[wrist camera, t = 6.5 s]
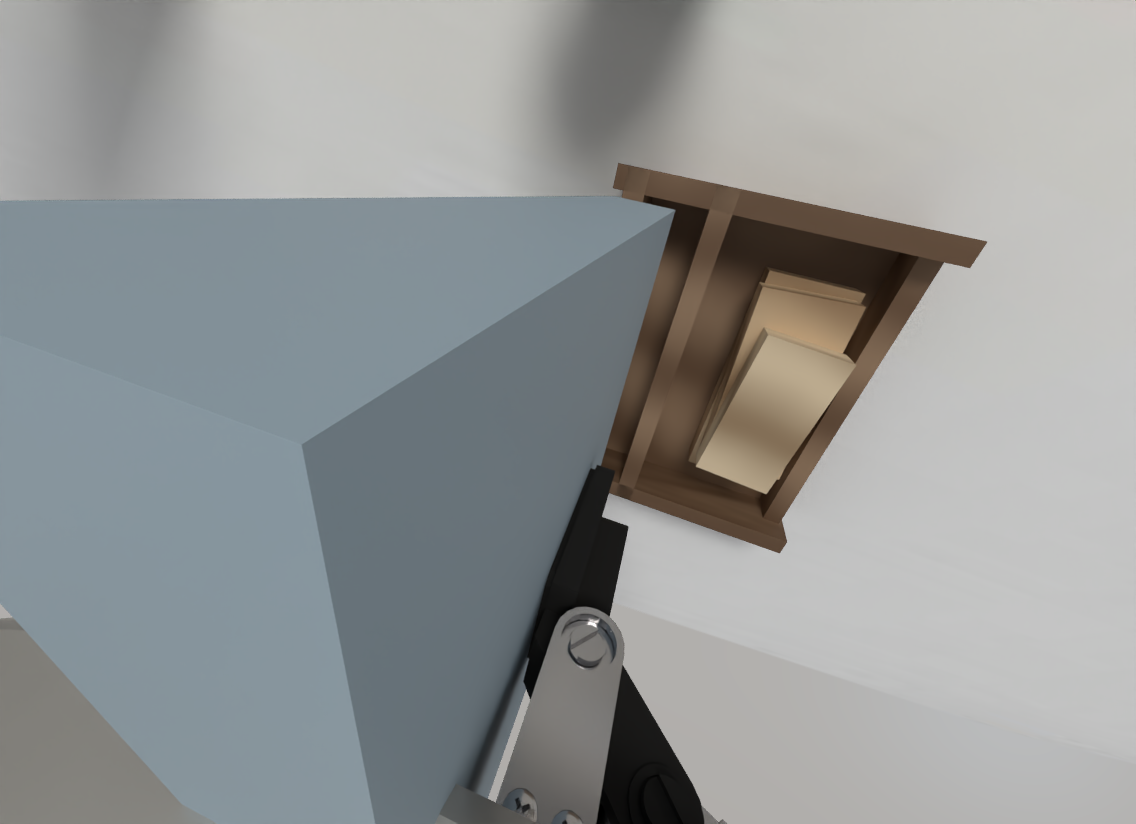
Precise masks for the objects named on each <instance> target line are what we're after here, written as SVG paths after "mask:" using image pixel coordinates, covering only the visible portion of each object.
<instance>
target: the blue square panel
mask: <svg viewBox="0 0 1136 824" xmlns="http://www.w3.org/2000/svg"><path fill="white" fill-rule="evenodd" d="M674 213H675V210H674V209H669V208H665V207H660V206H656V205H652V204H647V203H643V202H638V201H634V200H629V199H625V198H621V197H616V196H555V197H427V198H300V199H172V200H45V201H0V603H1V605H2V606H3V607H4V608H5V609H6V610H7V611H8V612H9V613H10V615H11V616H12V617H13V618H14V619H15V620H16V621H17V622H18V623H19V625H20V626H21V627H22V628H23V629H24V630H25V631H26V632H27V633H28V635H29V636H30V637H31V638H32V639H33V640H34V641H35V642H36V643H37V644H38V646H39V647H40V648H41V649H42V650H43V651H44V652H45V653H46V654H47V656H48V657H49V658H50V659H51V660H52V661H53V662H54V663H55V664H56V666H57V667H58V668H59V669H60V670H61V671H62V672H63V673H64V674H65V675H66V677H67V678H68V679H69V680H70V681H71V682H72V683H73V684H74V685H75V687H76V688H77V689H78V690H79V691H80V692H81V693H82V694H83V695H84V697H85V698H86V699H87V700H88V701H89V702H90V703H91V704H92V705H93V707H94V708H95V709H96V710H97V711H98V712H99V713H100V714H101V715H102V716H103V718H104V719H105V720H106V721H107V722H108V723H109V724H110V725H111V726H112V728H113V729H114V730H115V731H116V732H117V733H118V734H119V735H120V736H121V738H122V739H123V740H124V741H125V742H126V743H127V744H128V745H129V746H130V747H131V749H132V750H133V751H134V752H135V753H136V754H137V755H138V756H139V757H140V759H141V760H142V761H143V762H144V763H145V764H146V765H147V766H148V767H149V769H150V770H151V771H152V772H153V773H154V774H155V775H156V776H157V777H158V778H159V780H160V781H161V782H162V783H163V784H164V785H165V786H166V787H167V788H168V790H169V791H170V792H171V793H172V794H173V795H174V796H175V797H176V798H177V800H178V801H179V802H180V803H181V804H182V805H184V806H186V807H188V808H190V809H191V810H193V811H195V812H197V813H199V814H201V815H202V816H204V817H206V818H208V819H210V820H212V821H213V822H215V823H217V824H435V823H436V820H437V818H438V816H439V813H440V812H441V810H442V808H443V806H444V804H445V803H446V801H447V799H448V797H449V796H450V794H451V792H452V790H453V789H454V787H455V785H456V784H458V785H460V786H462V787H464V788H466V789H468V790H471V791H473V792H475V793H477V794H479V795H481V796H483V797H485V798H487V799H488V796H489V793H490V790H491V788H492V785H493V782H494V779H495V776H496V773H497V770H498V768H499V765H500V762H501V759H502V756H503V753H504V750H505V747H506V745H507V742H508V739H509V736H510V733H511V730H512V728H513V725H514V722H515V719H516V716H517V713H518V710H519V707H520V705H521V702H522V699H523V696H524V693H525V690H526V687H525V684H524V682H523V680H524V676H525V673H526V669H527V665H528V661H529V658H527V655H528V651H529V647H530V643H531V639H532V635H533V631H534V627H535V623H536V619H537V615H538V611H539V607H540V603H541V599H542V595H543V591H544V587H545V584H546V581H547V578H548V575H549V572H550V569H551V566H552V564H553V561H554V559H555V556H556V554H557V551H558V549H559V546H560V544H561V541H562V539H563V536H564V534H565V531H566V529H567V526H568V524H569V521H570V519H571V516H572V514H573V511H574V508H575V506H576V503H577V501H578V498H579V496H580V493H581V491H582V488H583V486H584V483H585V481H586V478H587V476H588V473H589V471H590V468H592V469H595V468H596V466H597V465H600V466H601V463H602V460H603V456H604V453H605V450H606V446H607V443H608V439H609V436H610V432H611V429H612V426H613V422H614V419H615V415H616V412H617V409H618V405H619V402H620V398H621V395H622V391H623V388H624V385H625V381H626V378H627V374H628V371H629V367H630V364H631V361H632V357H633V354H634V350H635V347H636V343H637V340H638V337H639V333H640V330H641V326H642V323H643V319H644V316H645V313H646V309H647V306H648V302H649V299H650V296H651V292H652V289H653V285H654V282H655V278H656V275H657V272H658V268H659V265H660V261H661V258H662V254H663V251H664V248H665V244H666V241H667V237H668V234H669V230H670V227H671V224H672V220H673V217H674Z"/></svg>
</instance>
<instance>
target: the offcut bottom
mask: <svg viewBox="0 0 1136 824" xmlns="http://www.w3.org/2000/svg"><path fill="white" fill-rule="evenodd" d="M760 282H762V283H767V284H772V285H777V286H783V287H788V288H793V289H798V290H803V291H809V292H814V293H819V294H824V295H829V296H835V297H840V298H845V299H850V300H855V301H857V302H859V303H860V304H861V302H862V300H863V298H864V296H865V295H866V294H865V293H863V292H861V291H859V290H858V289H855V288H851V287H847V286H843V285H839V284H835V283H831V282H826V281H822V280H818V279H814V278H810V277H806V276H802V275H798V274H793V273H789V272H785V271H781V270H777V269H773V268H769V267H766V268H765V270H764V273H763V275H762V277H761V280H760ZM756 290H757V289H756ZM754 295H755V294H754ZM753 298H754V296H753ZM752 300H753V299H752ZM751 303H752V301H751ZM751 303H750V306H751ZM750 306H749V308H748V311H749V309H750ZM748 311H747V313H746V315H745V318H744V320H743V322H742V325H741V327H740V330H739V332H738V334H737V337H736V339H735V341H734V344H733V346H732V349H731V351H730V353H729V356H728V358H727V360H726V363H725V365H724V367H723V370H722V372H721V375H720V377H719V379H718V382H717V384H716V386H715V389H714V391H713V394H712V396H711V398H710V401H709V403H708V405H707V408H706V410H705V413H704V415H703V417H702V420H701V422H700V424H699V427H698V429H697V431H696V434H695V436H694V439H693V441H692V443H691V446H690V448H689V458H688V461H690V462H693V463H696V452H697V451H698V449H699V447H700V443H701V441H702V438H703V435H704V432H705V430H706V427H707V424H708V421H709V419H710V416H711V413H712V410H713V408H714V405H715V402H716V399H717V397H718V394H719V391H720V388H721V386H722V383H723V380H724V377H725V375H726V372H727V369H728V366H729V364H730V361H731V358H732V355H733V353H734V350H735V347H736V344H737V342H738V339H739V336H740V333H741V331H742V328H743V325H744V322H745V320H746V317H747V314H748Z"/></svg>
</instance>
